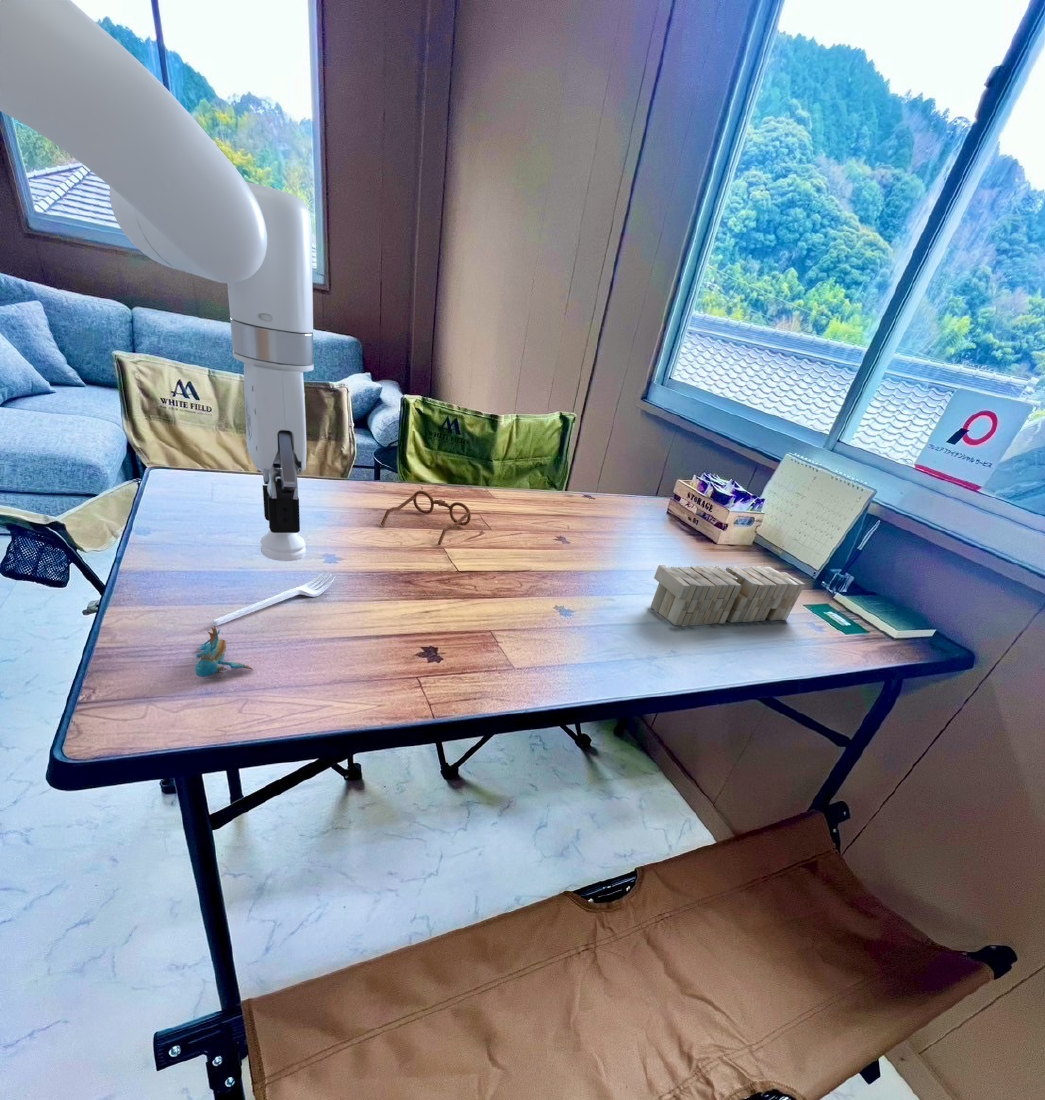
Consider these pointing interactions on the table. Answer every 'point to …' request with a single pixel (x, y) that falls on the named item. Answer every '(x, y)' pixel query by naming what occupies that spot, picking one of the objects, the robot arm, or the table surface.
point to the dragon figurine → (214, 657)
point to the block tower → (724, 594)
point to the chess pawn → (282, 544)
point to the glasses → (432, 510)
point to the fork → (282, 597)
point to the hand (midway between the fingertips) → (282, 524)
